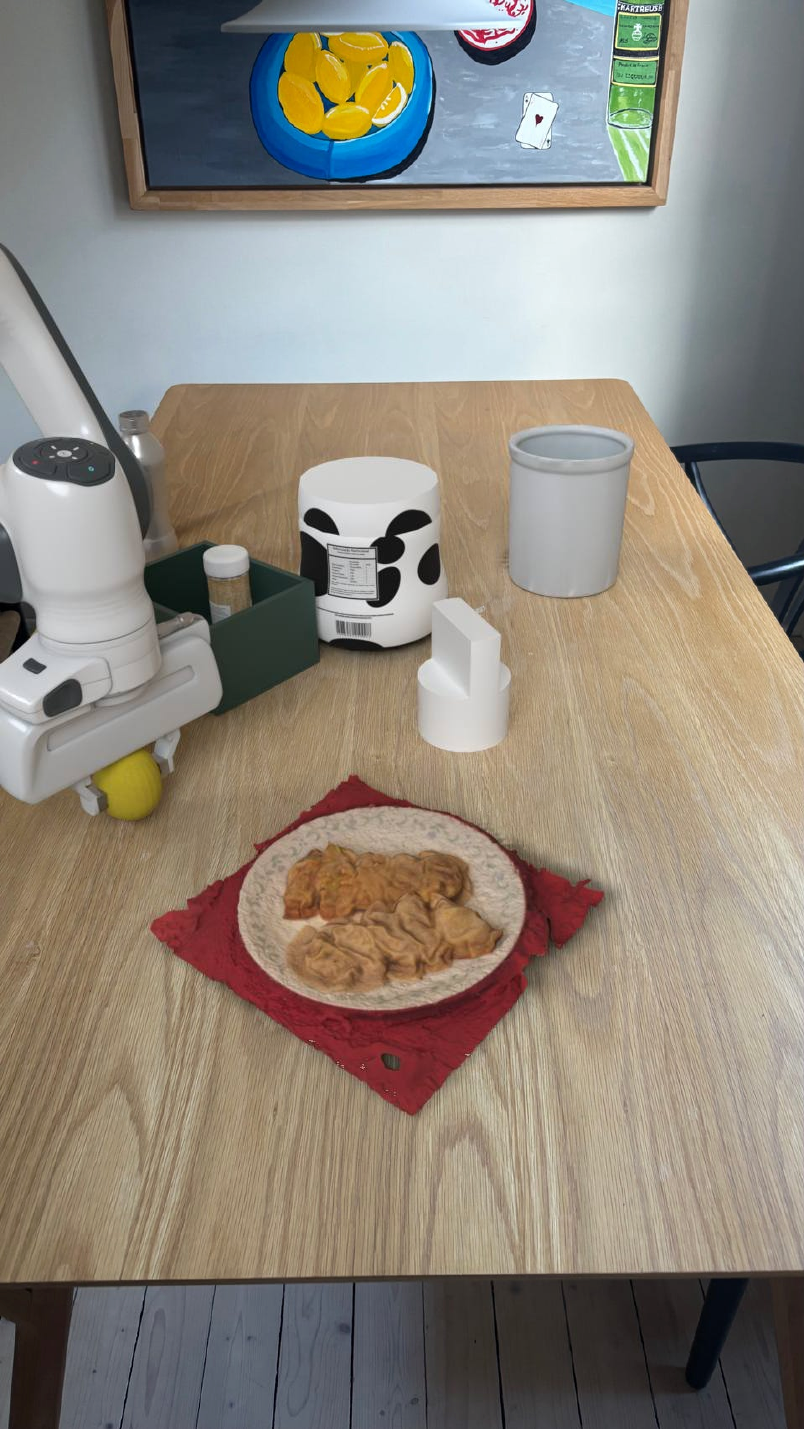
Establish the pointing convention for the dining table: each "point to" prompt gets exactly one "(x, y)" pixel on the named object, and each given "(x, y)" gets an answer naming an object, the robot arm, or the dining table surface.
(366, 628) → the milk container
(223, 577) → the sprinkles bottle
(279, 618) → the bin
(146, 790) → the lemon
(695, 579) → the dining table surface
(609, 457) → the utensil holder
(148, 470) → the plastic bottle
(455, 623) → the cylinder with rectangular tab
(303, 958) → the plate with food
